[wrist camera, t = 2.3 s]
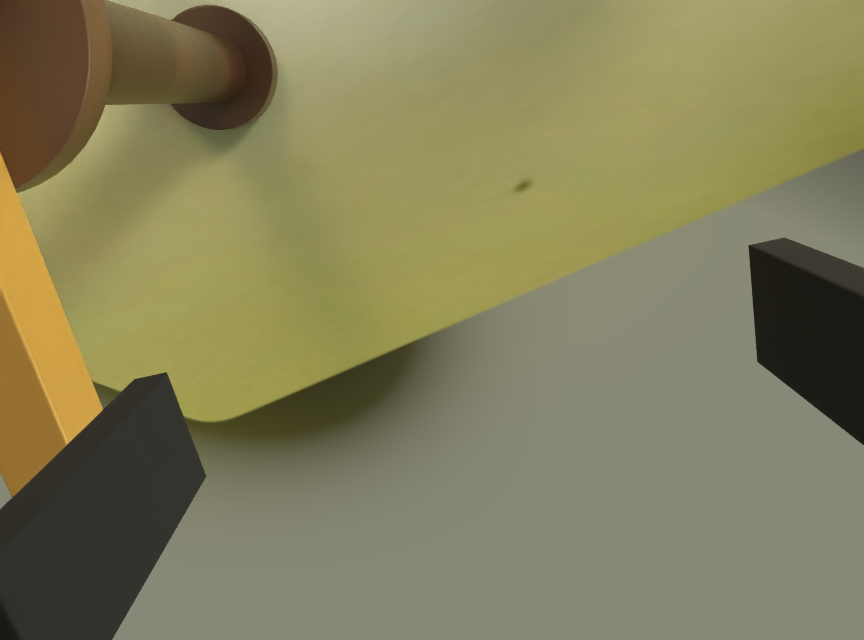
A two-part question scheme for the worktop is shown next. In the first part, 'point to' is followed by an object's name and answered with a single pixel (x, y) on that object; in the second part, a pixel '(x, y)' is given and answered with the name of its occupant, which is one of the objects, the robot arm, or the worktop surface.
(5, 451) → the wooden t-shaped block
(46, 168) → the dark brown spool
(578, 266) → the worktop surface
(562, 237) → the worktop surface
